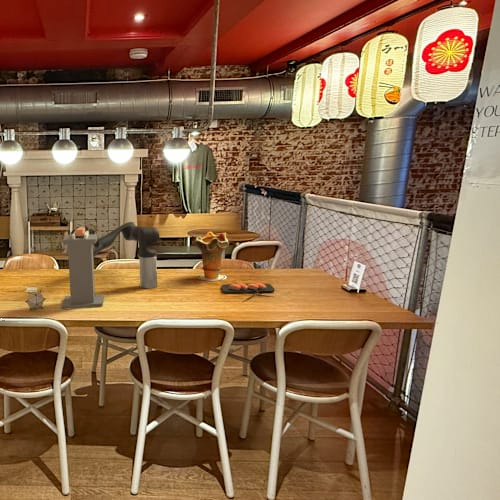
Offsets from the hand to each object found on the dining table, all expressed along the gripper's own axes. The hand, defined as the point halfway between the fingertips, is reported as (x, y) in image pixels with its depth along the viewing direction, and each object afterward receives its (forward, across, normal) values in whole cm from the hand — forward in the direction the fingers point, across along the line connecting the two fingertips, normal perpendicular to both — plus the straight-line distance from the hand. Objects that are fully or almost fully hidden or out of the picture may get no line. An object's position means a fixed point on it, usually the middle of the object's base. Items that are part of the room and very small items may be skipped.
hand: (81, 228), depth 210 cm
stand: (-4, 0, -37) cm, 37 cm away
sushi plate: (-2, -84, -41) cm, 93 cm away
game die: (+1, +20, -40) cm, 45 cm away
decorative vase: (-34, -71, -21) cm, 82 cm away
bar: (+4, 0, -5) cm, 7 cm away
